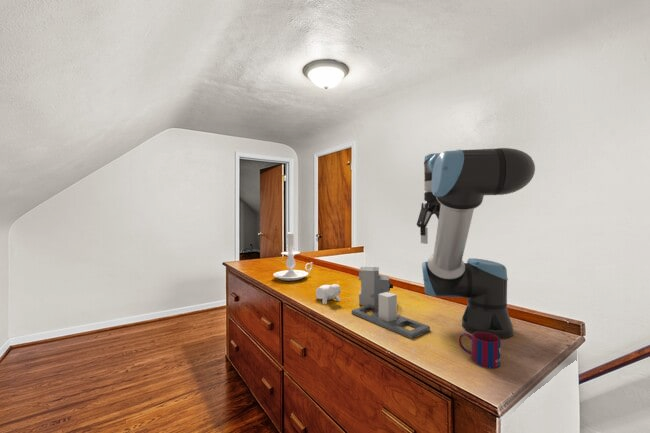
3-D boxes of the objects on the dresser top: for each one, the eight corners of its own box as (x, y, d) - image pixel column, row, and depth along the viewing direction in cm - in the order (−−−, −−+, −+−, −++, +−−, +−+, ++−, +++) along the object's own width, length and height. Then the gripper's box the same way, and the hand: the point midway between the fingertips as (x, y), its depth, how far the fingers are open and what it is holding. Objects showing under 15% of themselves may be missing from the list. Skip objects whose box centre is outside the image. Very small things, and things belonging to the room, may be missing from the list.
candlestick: (320, 279, 170) (320, 231, 169) (280, 285, 158) (279, 233, 157) (305, 272, 188) (305, 229, 187) (268, 277, 176) (267, 231, 175)
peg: (396, 322, 106) (396, 294, 106) (388, 325, 103) (388, 297, 103) (387, 318, 110) (386, 291, 109) (378, 321, 107) (378, 294, 106)
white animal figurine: (315, 306, 133) (331, 302, 120) (311, 287, 135) (327, 282, 123) (331, 303, 137) (348, 299, 125) (327, 285, 139) (344, 279, 127)
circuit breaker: (393, 306, 122) (393, 271, 121) (359, 305, 125) (358, 270, 124) (392, 301, 129) (392, 267, 129) (360, 299, 132) (360, 266, 132)
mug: (496, 371, 73) (496, 345, 73) (455, 357, 80) (455, 333, 80) (503, 361, 78) (503, 336, 78) (464, 349, 85) (464, 326, 85)
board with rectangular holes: (430, 330, 98) (429, 326, 98) (411, 338, 92) (411, 334, 92) (369, 308, 120) (369, 304, 120) (351, 313, 114) (351, 310, 114)
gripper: (442, 192, 133) (442, 239, 133) (407, 191, 118) (407, 243, 118) (458, 191, 127) (458, 240, 127) (423, 190, 112) (423, 245, 112)
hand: (433, 242), depth 123 cm, fingers open, 13 cm apart
